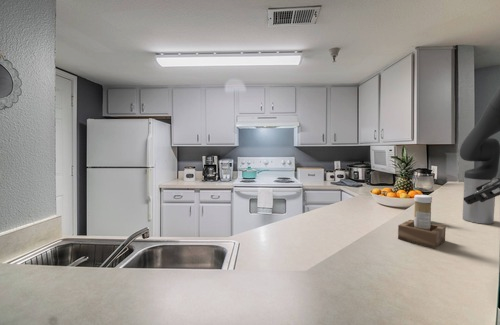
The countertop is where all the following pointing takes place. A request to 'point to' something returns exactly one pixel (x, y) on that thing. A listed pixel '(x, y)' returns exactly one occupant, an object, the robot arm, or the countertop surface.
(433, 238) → the box
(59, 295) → the countertop surface
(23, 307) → the countertop surface
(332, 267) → the countertop surface
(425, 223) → the sprinkles bottle
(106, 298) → the countertop surface
